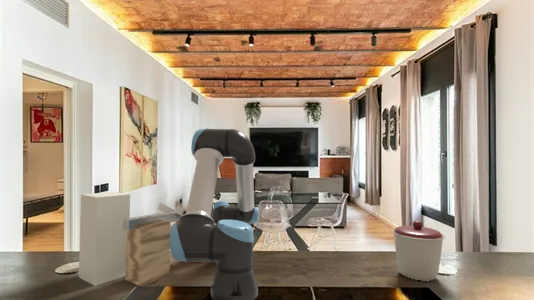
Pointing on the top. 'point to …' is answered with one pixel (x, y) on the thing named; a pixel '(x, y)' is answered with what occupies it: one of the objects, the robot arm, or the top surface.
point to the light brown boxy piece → (148, 253)
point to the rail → (149, 220)
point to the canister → (418, 251)
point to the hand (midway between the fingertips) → (167, 207)
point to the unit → (103, 236)
